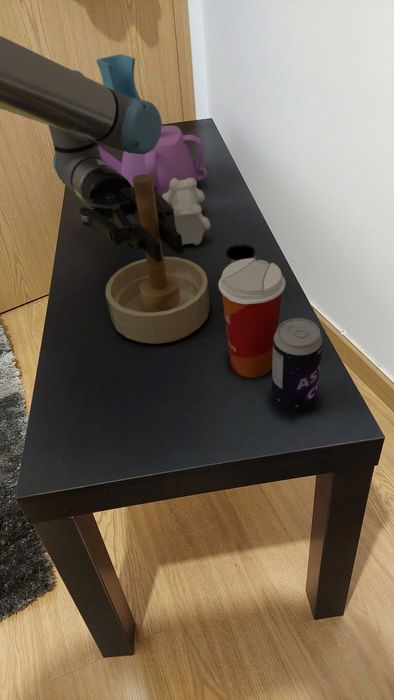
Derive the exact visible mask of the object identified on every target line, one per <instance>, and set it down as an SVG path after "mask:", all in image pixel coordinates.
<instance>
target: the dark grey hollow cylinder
mask: <svg viewBox="0 0 394 700" xmlns="http://www.w3.org/2000/svg"><path fill="white" fill-rule="evenodd" d="M224 258H225V268H226V267H227V266H228V265H230V264H231V263H233V262H235V261H238V260H242V259H249V258H255V259H256V260H257V250H256V249H255V247H254V246H252V245H249V244H245V243H238V244H234V245H231V246H229V247H228V248H227V249H226V250H225V252H224Z"/></svg>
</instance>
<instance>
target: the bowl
mask: <svg viewBox="0 0 394 700" xmlns="http://www.w3.org/2000/svg"><path fill="white" fill-rule="evenodd" d="M164 263H165V270H166V274H168V275H171V276H173V277H175V278H176V279H177V280H178V284H179V292H180V302H179V304H178V305H177V306H176V307H174V308H173V309H170V310H168V311H161V312H153V311H150V310H148V309H146V308H145V307H144V306H143V303H142V298H141V292H140V284H141V282H142V281H143V280H144V279H146V278H148V277H149V273H148V267H147V262H146V258H142V259H140V260H137V261H134V262H130V263H129V264H127V265H125V266H123V267H121V268H120V269H118V270H117V271H116V272H114V274H112V275H111V277H110V278H109V280H108V282H107V284H106V286H105V298H106V303H107V307H108V311H109V315H110V318H111V322H112V324H113V326H114V328H115V330H116V331H117V333H119V334H120V335H122V336H124V337H125V338H127V339H129V340H132V341H136V342H138V343H142V344H151V345H152V344H153V345H156V344H157V345H159V344H168V343H172V342H176V341H179V340H182V339H183V338H185V337H188V336H189V335H191V334H193V333H194V332H195V331H197V330H198V329H200V328H201V327H202V325H203V324H204V323H205V322H206V321H207V319H208V317H209V314H210V309H211V303H210V291H209V290H210V289H209V281H208V276H207V273H206V271H205V270H204V269H203V268H202V267H201V266H200V265H198V264H197V263H195V262H193V261H191V260H189V259H185V258H181V257H178V256H164Z"/></svg>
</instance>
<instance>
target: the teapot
mask: <svg viewBox="0 0 394 700" xmlns="http://www.w3.org/2000/svg"><path fill="white" fill-rule="evenodd" d="M188 142H193V143H195V144H196V145H197V146H198V152H197V156H196V159H195V162H194V157H193V154H192V151H191V149H190V147H189V144H188ZM99 150H100V155H101V159H102V160H104V161H105V162H106V163H107V164H109V165H110V166H111V167H112V168H114V169H115V170H116V171H117V172H119V173H120V174H121V175H122V176H124V177H125V178H126V179H127V180H128V181H129V183H130V184H131V186H132V187H134V185H133V178H134V177H135V176H138V175H142V174H148V175H151V176H152V179H153V185H154V186H157V192H158V193H159V194H160V195H161V196H162V195H163V194H164V193H167V192H168V190H169V184H170V181H171V180H172V179H173V178H176V179H178V180H186V179H187V178H194V179H195V180H196V182H200V181H204V180H205V179H206V178H207V175H208V172H207V169H206V168H205V167H204V166H200V165H201V164H202V160H203V158H204V154H205V145H204V142H203V140H202V139H201V138H200V137H199V136H197V135H194V134H185V135H184V133H183V132H182V130H181V128H180V127H178V126H176V125H162V129H161V132H160V136H159V141H158V143H157V145H156V146H155V147H154V149H153V150H151V151H150V152H148V153H146V154H136V153H128V152H125V151H122V152H123V153H122V158H121V161H120V160H118V159H117V158H116V157H114V156H113V155H112V154H110V153H109V152H107V151H106V150H105V149H103V148H102V147H100V146H99ZM199 172H202V174H199Z"/></svg>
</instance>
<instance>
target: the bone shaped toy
mask: <svg viewBox="0 0 394 700" xmlns="http://www.w3.org/2000/svg"><path fill="white" fill-rule="evenodd" d="M197 184H198V181H197V180H195V179H194V178H187V179H186V180H178V179H176V178H173V179H172V180H171V181H170V184H169V190H168V192H167V193H164V194H163V195H162V197H163V198H164V199H165V200H166V202H167V203H168V204H169V205H170V206H171V207H172V208H173V209H174V217H175V226H176V231H177V232H178V233H179V234H180V235H181V238H182V246H184V245H194V246H199V245H200V244H201V243H202V241H203V236H204V234H205V232H206V231H209V230H210V229H211V222H210V219H208V217H206V216H204V215H203V214H202V212H203V211H202V206H201V205H200V204H202V203H204V202H205V200H206V196H205V193H204V192H203V191H202V190H201V189H199V188H198V187H197Z"/></svg>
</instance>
